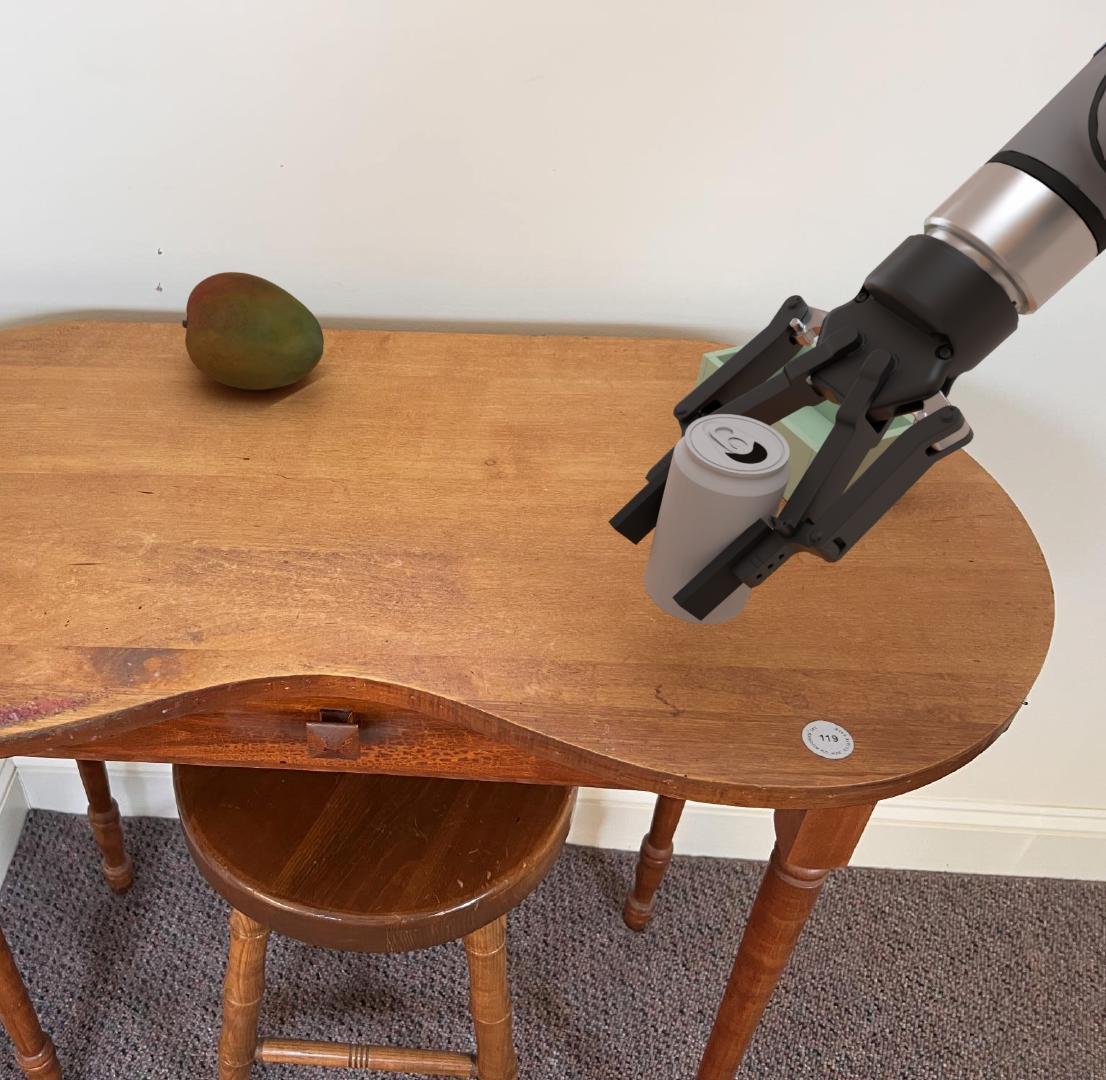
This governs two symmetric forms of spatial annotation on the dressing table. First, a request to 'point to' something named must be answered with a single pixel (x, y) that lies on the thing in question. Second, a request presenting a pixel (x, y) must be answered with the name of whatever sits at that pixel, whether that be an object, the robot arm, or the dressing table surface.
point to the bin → (806, 424)
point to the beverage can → (714, 505)
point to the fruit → (250, 332)
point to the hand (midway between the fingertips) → (653, 569)
